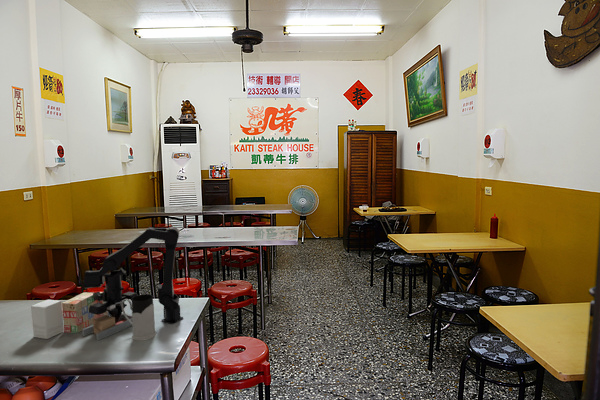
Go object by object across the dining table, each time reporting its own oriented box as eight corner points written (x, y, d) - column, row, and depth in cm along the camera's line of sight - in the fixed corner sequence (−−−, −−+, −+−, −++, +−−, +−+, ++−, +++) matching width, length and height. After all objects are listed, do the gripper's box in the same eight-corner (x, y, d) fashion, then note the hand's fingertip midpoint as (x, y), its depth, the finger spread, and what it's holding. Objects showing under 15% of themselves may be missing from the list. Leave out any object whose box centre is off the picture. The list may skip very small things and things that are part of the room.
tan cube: (115, 330, 150) (114, 317, 149) (102, 336, 145) (102, 322, 144) (106, 327, 152) (105, 314, 152) (93, 333, 147) (92, 319, 147)
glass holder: (146, 341, 139) (143, 302, 138) (115, 337, 144) (112, 299, 142) (161, 331, 148) (159, 294, 146) (131, 327, 152) (129, 291, 151)
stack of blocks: (100, 311, 170) (98, 285, 168) (112, 312, 169) (111, 285, 168) (63, 332, 149) (61, 302, 147) (77, 333, 148) (75, 303, 146)
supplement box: (64, 331, 149) (62, 300, 148) (46, 339, 142) (44, 307, 141) (50, 329, 152) (48, 298, 150) (32, 337, 145) (30, 305, 143)
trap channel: (138, 322, 157) (138, 316, 157) (98, 340, 141) (98, 334, 141) (123, 318, 161) (122, 312, 161) (82, 335, 145) (82, 329, 145)
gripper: (120, 276, 163) (122, 311, 165) (78, 289, 147) (81, 328, 148) (138, 280, 158) (140, 315, 160) (96, 294, 142) (99, 333, 143)
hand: (115, 322), depth 153 cm, fingers closed
